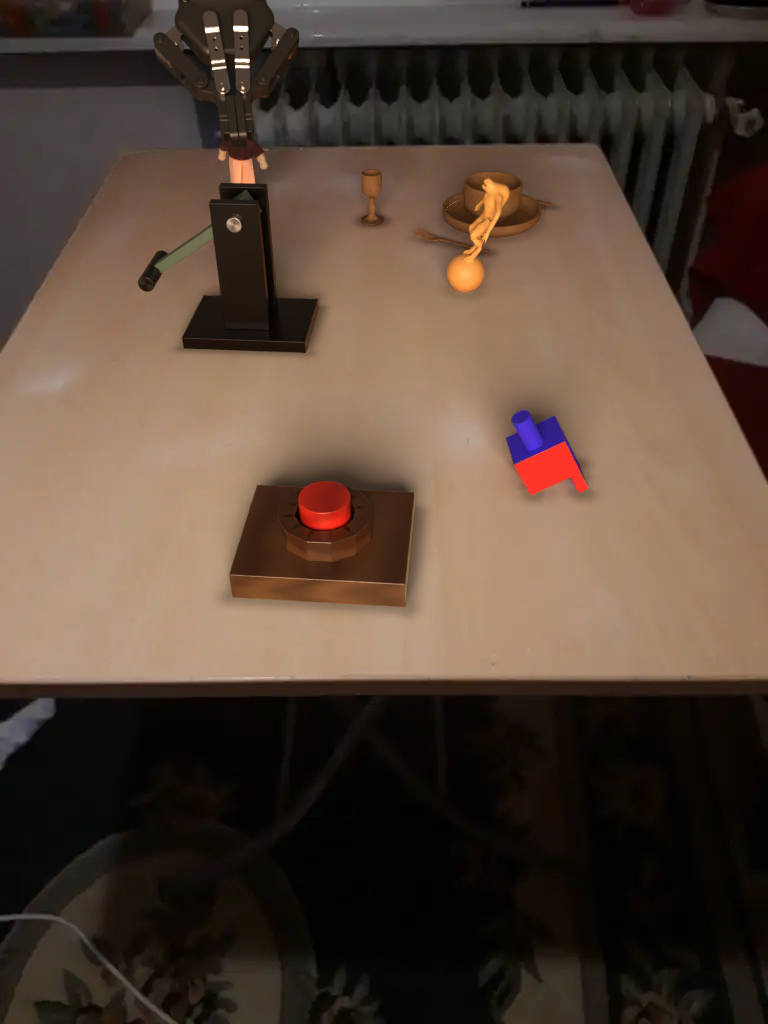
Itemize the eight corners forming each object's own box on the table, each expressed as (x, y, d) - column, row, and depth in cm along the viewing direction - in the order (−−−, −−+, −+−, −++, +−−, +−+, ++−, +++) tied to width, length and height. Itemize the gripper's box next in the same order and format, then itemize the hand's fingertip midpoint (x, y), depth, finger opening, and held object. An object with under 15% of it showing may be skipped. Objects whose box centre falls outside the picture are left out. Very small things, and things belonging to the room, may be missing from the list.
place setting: (504, 259, 107) (508, 208, 103) (354, 224, 115) (352, 175, 111) (563, 206, 119) (568, 159, 115) (422, 178, 127) (423, 133, 123)
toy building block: (530, 482, 78) (491, 412, 73) (578, 461, 77) (541, 388, 72) (539, 510, 75) (499, 438, 70) (589, 488, 74) (551, 414, 69)
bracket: (183, 348, 92) (160, 210, 83) (205, 305, 99) (186, 173, 90) (305, 353, 91) (295, 214, 82) (318, 309, 98) (310, 176, 89)
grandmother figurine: (211, 208, 119) (198, 102, 111) (227, 197, 122) (215, 93, 114) (265, 217, 117) (256, 110, 109) (280, 206, 120) (271, 100, 112)
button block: (232, 597, 66) (225, 554, 63) (259, 506, 73) (254, 465, 71) (405, 607, 65) (405, 564, 62) (414, 514, 72) (415, 472, 70)
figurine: (443, 273, 104) (447, 163, 97) (498, 272, 104) (506, 163, 97) (448, 308, 98) (452, 194, 90) (506, 307, 98) (515, 193, 90)
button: (296, 531, 65) (294, 511, 64) (304, 498, 68) (302, 479, 67) (347, 533, 65) (347, 514, 64) (353, 501, 68) (352, 481, 67)
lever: (148, 298, 91) (131, 278, 89) (165, 270, 95) (148, 251, 94) (254, 228, 85) (237, 206, 84) (266, 202, 90) (250, 181, 89)
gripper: (132, -79, 77) (156, 126, 76) (294, -83, 79) (319, 117, 78) (143, -20, 85) (164, 167, 84) (290, -25, 87) (313, 158, 85)
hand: (239, 142), depth 81 cm, fingers closed
